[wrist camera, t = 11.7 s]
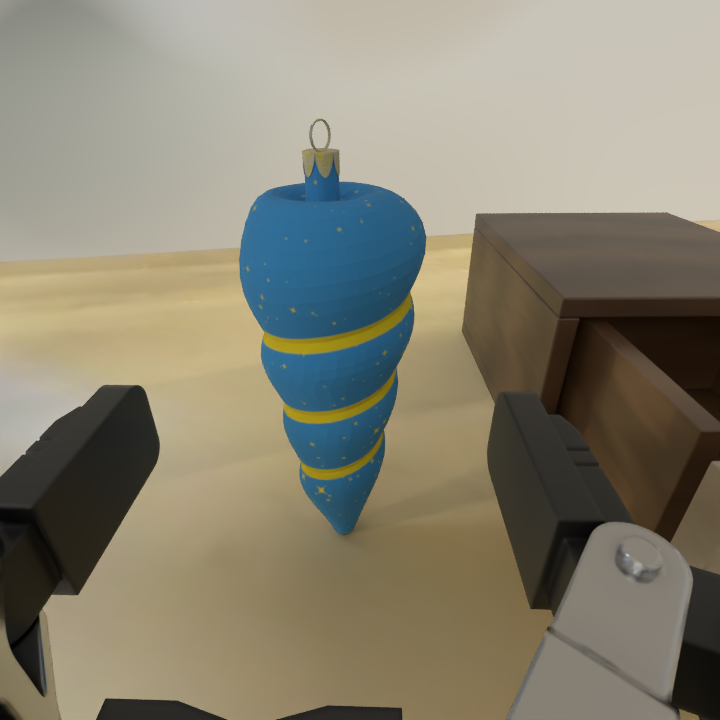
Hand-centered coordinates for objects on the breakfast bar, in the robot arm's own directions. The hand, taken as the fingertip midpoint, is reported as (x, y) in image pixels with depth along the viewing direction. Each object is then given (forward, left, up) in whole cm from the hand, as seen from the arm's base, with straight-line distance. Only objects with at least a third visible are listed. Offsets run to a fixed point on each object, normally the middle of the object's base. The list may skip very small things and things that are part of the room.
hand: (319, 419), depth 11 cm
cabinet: (+15, +15, -9) cm, 23 cm away
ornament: (0, +4, -9) cm, 10 cm away
